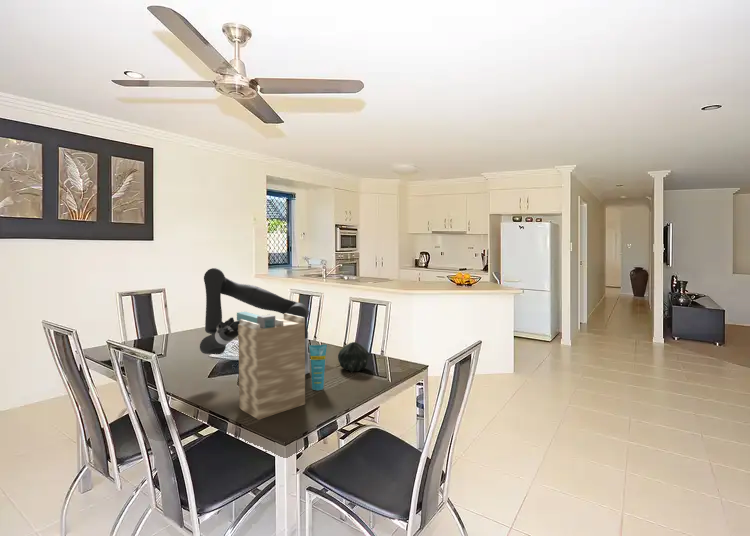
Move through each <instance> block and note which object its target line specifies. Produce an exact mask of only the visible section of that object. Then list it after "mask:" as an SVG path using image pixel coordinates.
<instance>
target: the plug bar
mask: <svg viewBox="0 0 750 536" xmlns="http://www.w3.org/2000/svg"><path fill="white" fill-rule="evenodd" d="M240 319H243V320H247V321H250V322H254V323H257V324H260V328H262V329H265V328H271V327H275V319H276V315H274V314H270V313H269V314H264V315H263V314H262V315H259V314H256V313H252V312H247V311H241V312H239V311H238V312H236V321H240Z"/></svg>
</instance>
